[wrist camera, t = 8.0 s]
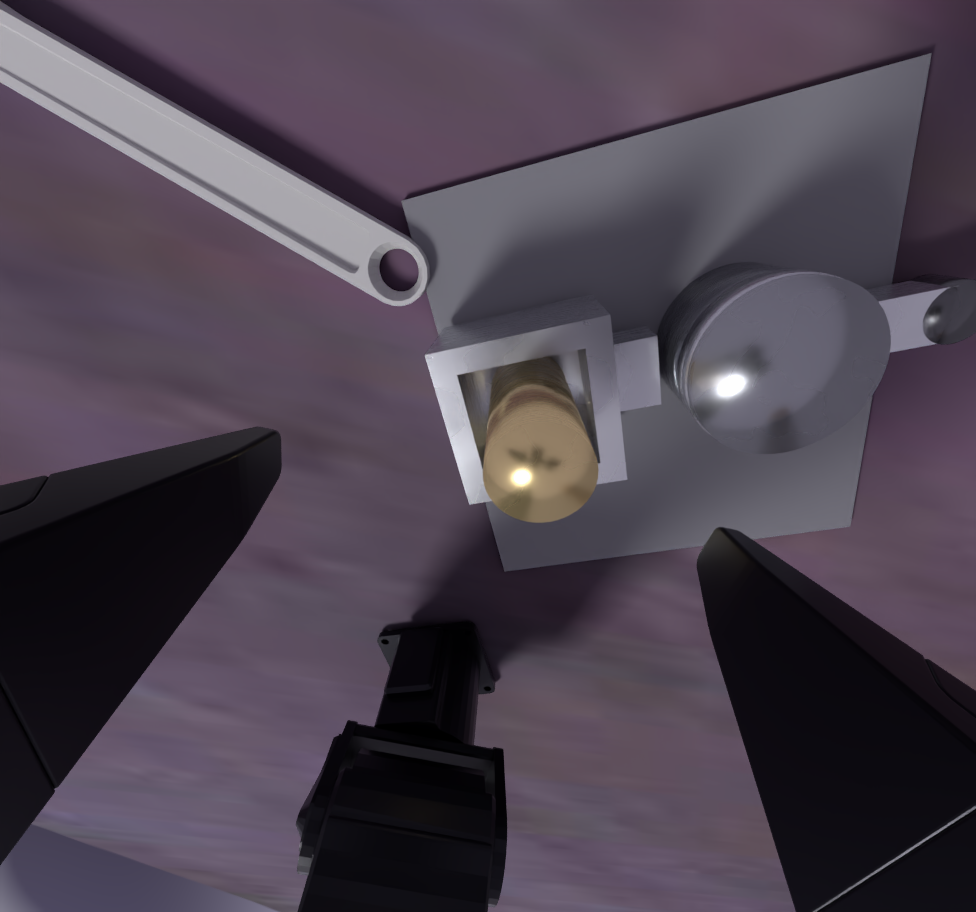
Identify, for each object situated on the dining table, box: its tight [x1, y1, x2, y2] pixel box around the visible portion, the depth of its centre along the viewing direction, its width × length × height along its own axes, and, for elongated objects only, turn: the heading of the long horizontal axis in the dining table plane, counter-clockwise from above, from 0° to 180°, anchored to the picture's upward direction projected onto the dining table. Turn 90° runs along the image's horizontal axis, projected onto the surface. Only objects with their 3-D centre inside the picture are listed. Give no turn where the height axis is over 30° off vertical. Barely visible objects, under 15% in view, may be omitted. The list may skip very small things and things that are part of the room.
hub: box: [657, 262, 891, 454], centre depth 17 cm, size 6×6×5 cm
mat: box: [401, 53, 932, 572], centre depth 20 cm, size 19×18×1 cm
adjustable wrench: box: [0, 1, 430, 306], centre depth 17 cm, size 25×6×2 cm, turn 57°
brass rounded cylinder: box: [483, 356, 599, 523], centre depth 16 cm, size 3×3×8 cm
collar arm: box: [425, 274, 976, 504], centre depth 17 cm, size 20×6×4 cm, turn 103°
